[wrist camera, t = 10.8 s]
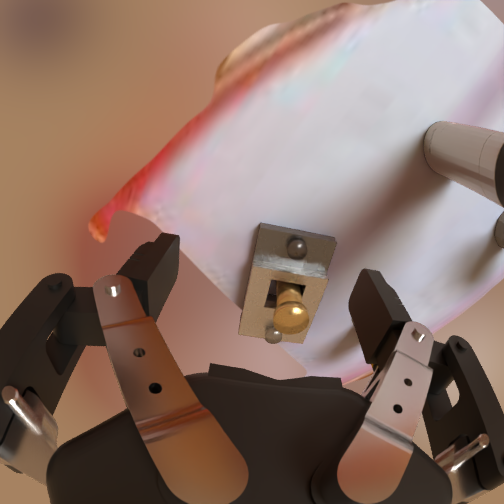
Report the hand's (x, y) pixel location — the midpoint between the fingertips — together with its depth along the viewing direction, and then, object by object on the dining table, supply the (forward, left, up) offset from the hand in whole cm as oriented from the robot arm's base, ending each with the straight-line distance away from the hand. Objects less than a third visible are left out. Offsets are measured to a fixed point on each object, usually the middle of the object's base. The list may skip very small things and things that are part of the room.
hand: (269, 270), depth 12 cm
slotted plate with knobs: (-7, +20, -30) cm, 36 cm away
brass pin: (-8, +20, -30) cm, 37 cm away
